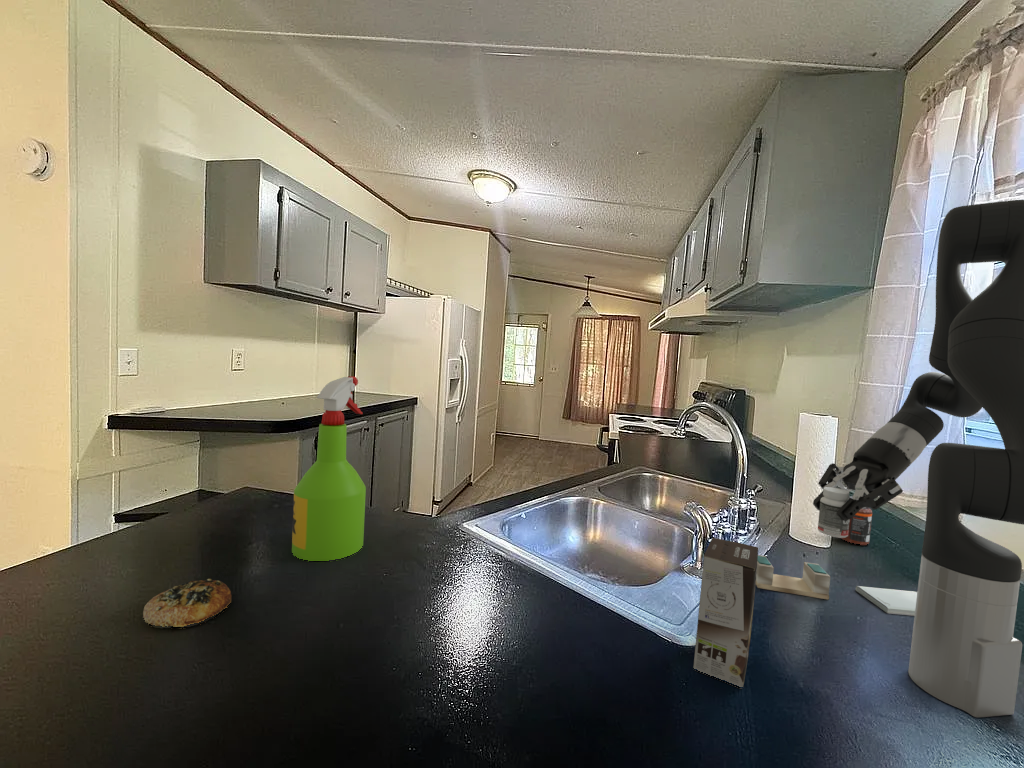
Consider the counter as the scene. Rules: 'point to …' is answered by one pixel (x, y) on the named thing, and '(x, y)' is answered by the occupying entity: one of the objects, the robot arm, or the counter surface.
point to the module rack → (794, 580)
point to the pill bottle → (833, 512)
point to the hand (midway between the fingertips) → (828, 512)
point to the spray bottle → (330, 487)
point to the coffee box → (726, 610)
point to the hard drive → (891, 599)
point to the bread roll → (187, 603)
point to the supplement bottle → (860, 527)
